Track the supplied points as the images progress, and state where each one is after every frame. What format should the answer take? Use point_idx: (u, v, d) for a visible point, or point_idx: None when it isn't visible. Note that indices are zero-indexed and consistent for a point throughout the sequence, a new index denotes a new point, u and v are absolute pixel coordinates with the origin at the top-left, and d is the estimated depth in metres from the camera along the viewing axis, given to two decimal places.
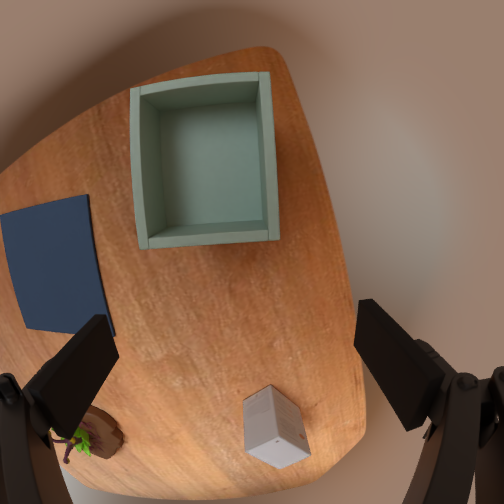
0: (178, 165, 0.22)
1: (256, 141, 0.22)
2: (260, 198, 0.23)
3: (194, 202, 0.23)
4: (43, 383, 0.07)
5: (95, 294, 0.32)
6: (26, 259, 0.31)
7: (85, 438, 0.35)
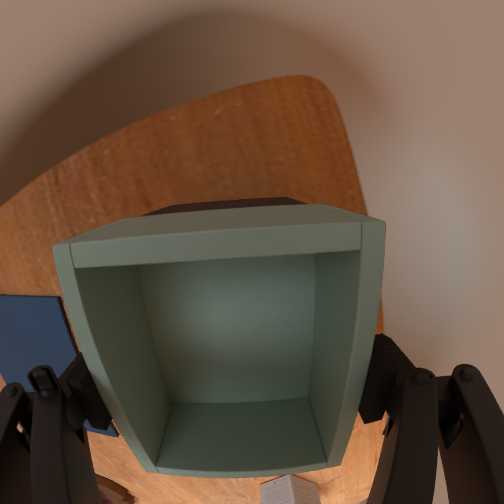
0: (179, 333, 0.13)
1: (311, 297, 0.13)
2: (309, 374, 0.14)
3: (209, 381, 0.14)
4: (83, 373, 0.08)
5: None
6: (5, 349, 0.22)
7: None
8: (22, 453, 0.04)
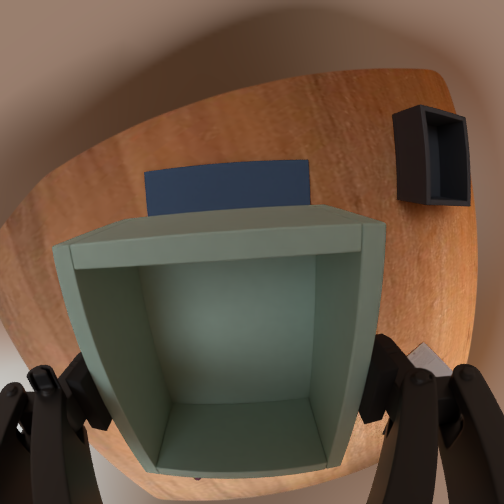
0: (179, 333, 0.13)
1: (311, 298, 0.13)
2: (309, 375, 0.14)
3: (210, 381, 0.14)
4: (83, 373, 0.08)
5: None
6: None
7: None
8: (22, 453, 0.04)
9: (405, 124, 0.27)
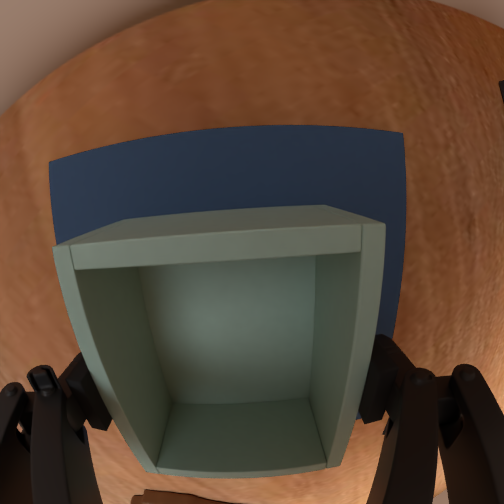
0: (179, 333, 0.13)
1: (311, 298, 0.13)
2: (308, 375, 0.14)
3: (209, 381, 0.14)
4: (83, 373, 0.08)
5: None
6: None
7: None
8: (22, 453, 0.04)
9: None
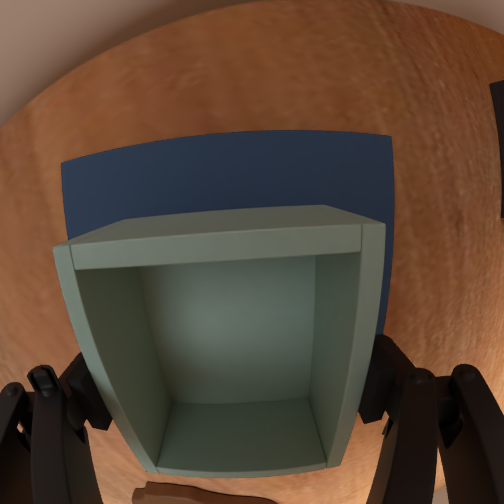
0: (179, 333, 0.13)
1: (311, 298, 0.13)
2: (309, 375, 0.14)
3: (210, 381, 0.14)
4: (83, 373, 0.08)
5: None
6: None
7: None
8: (22, 453, 0.04)
9: None
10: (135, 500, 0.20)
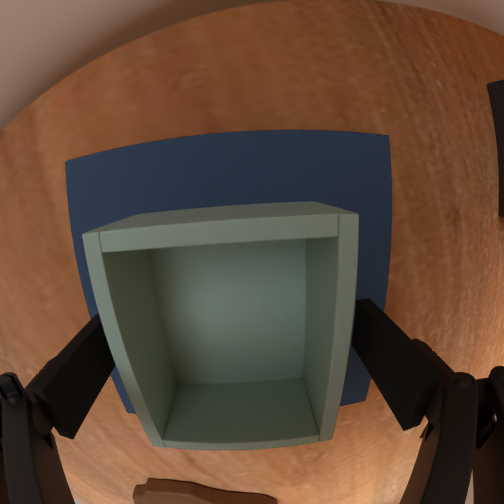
0: (186, 316, 0.15)
1: (303, 283, 0.15)
2: (302, 356, 0.16)
3: (212, 361, 0.16)
4: (46, 382, 0.07)
5: None
6: None
7: None
8: None
9: None
10: (136, 496, 0.21)
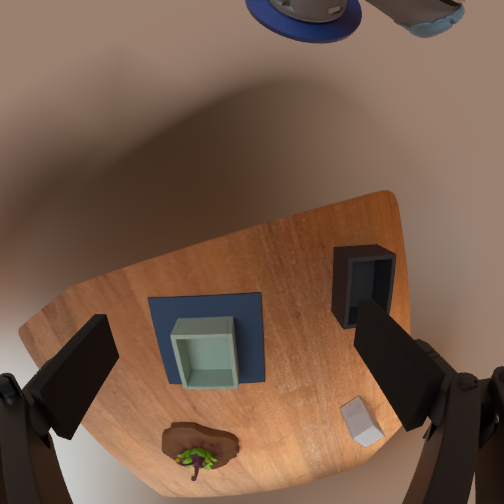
0: (194, 347, 0.47)
1: None
2: None
3: (203, 361, 0.48)
4: (43, 383, 0.07)
5: (257, 357, 0.49)
6: None
7: (211, 456, 0.52)
8: None
9: (339, 263, 0.42)
10: (164, 435, 0.53)
